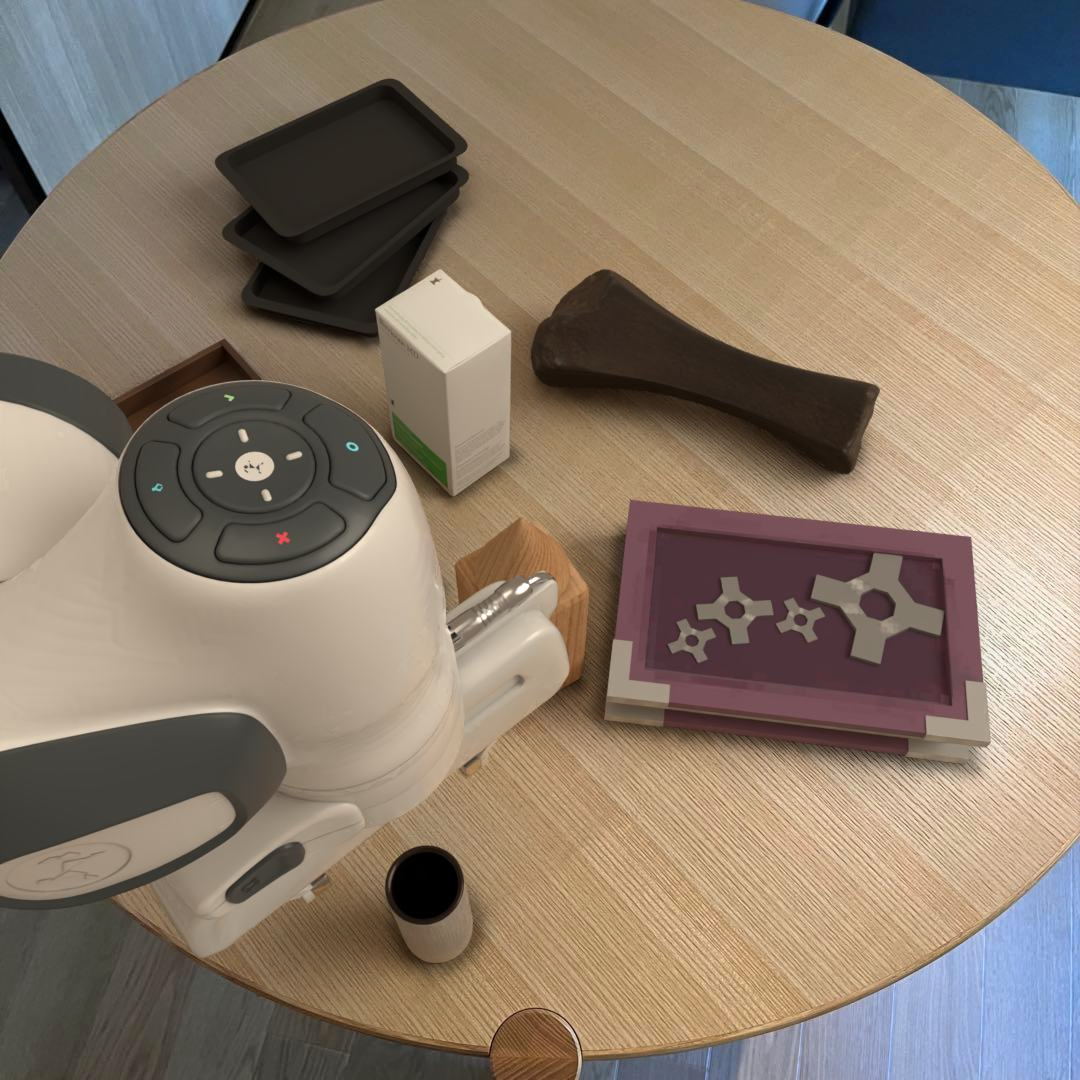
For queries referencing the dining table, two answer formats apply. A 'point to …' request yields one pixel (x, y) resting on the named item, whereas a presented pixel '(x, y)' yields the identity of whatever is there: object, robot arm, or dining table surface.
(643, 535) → the book
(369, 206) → the tray
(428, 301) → the cosmetic box
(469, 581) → the decorative item
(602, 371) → the dark brown bone
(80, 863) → the robot arm
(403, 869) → the planter
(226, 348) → the walnut tray
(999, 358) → the dining table surface
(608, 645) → the dining table surface
